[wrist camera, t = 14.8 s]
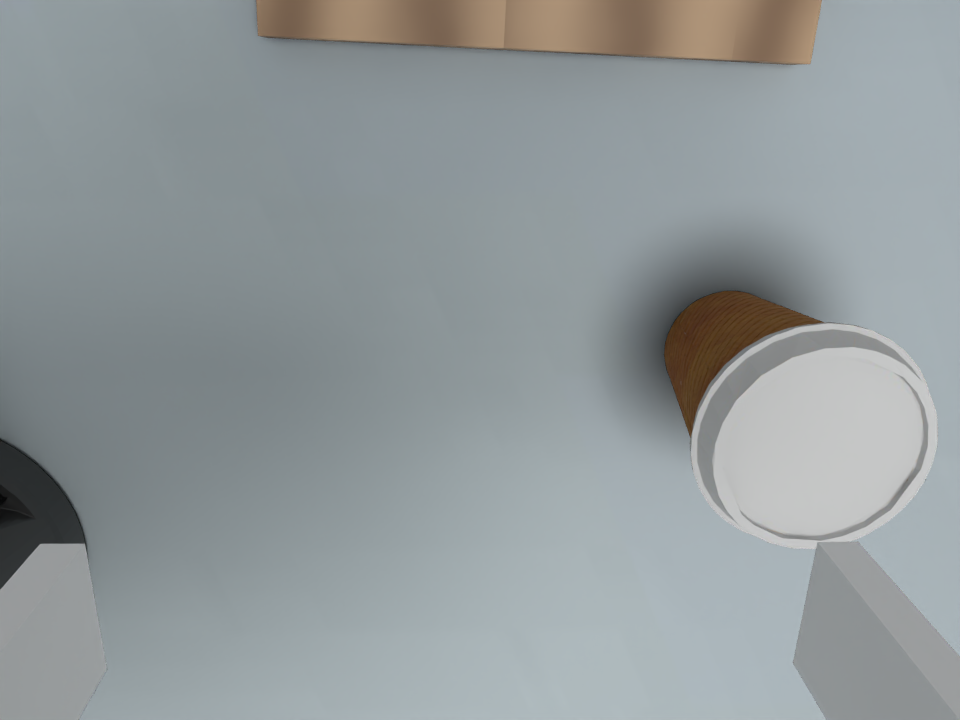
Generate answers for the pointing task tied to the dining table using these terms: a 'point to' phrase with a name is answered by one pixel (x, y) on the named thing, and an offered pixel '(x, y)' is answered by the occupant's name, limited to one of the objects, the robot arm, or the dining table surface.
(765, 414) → the disposable coffee cup
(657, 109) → the dining table surface
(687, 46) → the keyhole board
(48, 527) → the robot arm
